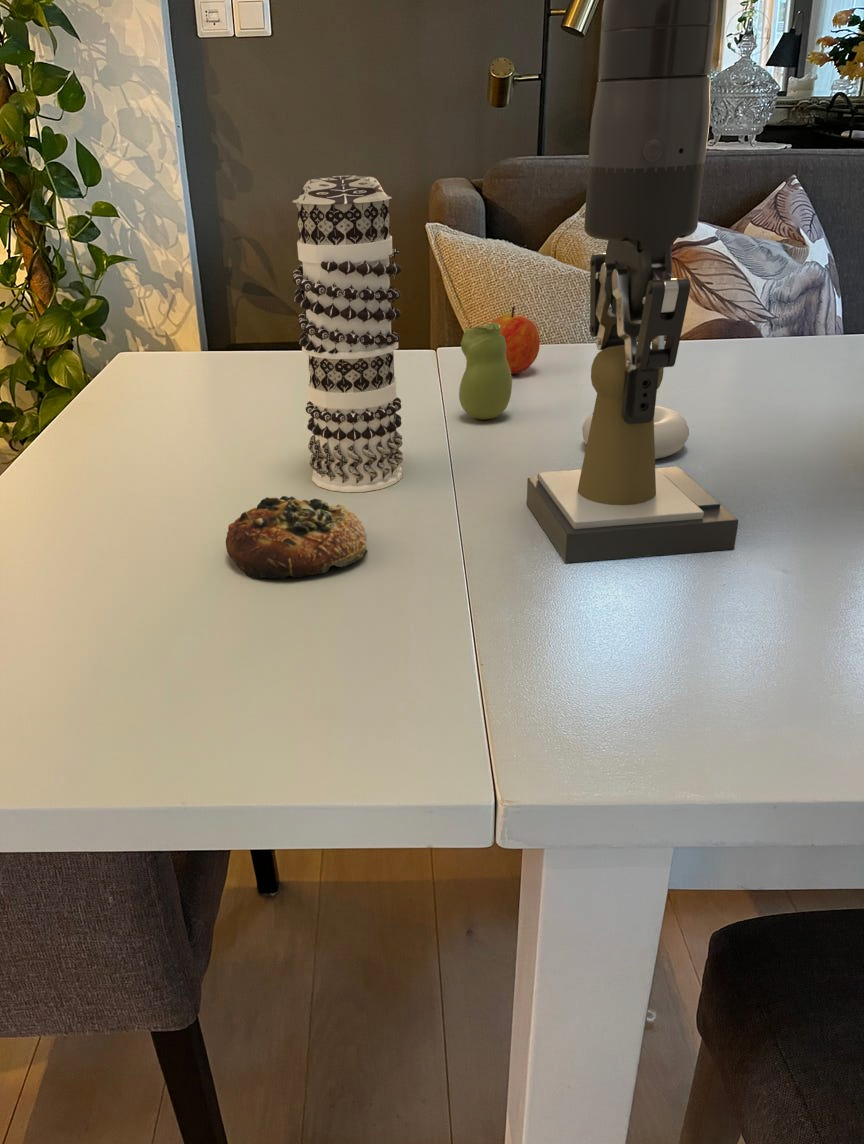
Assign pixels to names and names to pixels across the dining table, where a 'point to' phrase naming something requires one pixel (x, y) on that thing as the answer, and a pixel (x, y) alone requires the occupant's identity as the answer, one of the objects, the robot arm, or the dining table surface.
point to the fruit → (519, 341)
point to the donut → (660, 431)
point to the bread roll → (294, 538)
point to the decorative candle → (349, 332)
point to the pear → (485, 372)
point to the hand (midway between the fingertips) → (623, 409)
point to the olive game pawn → (616, 440)
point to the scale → (630, 519)
